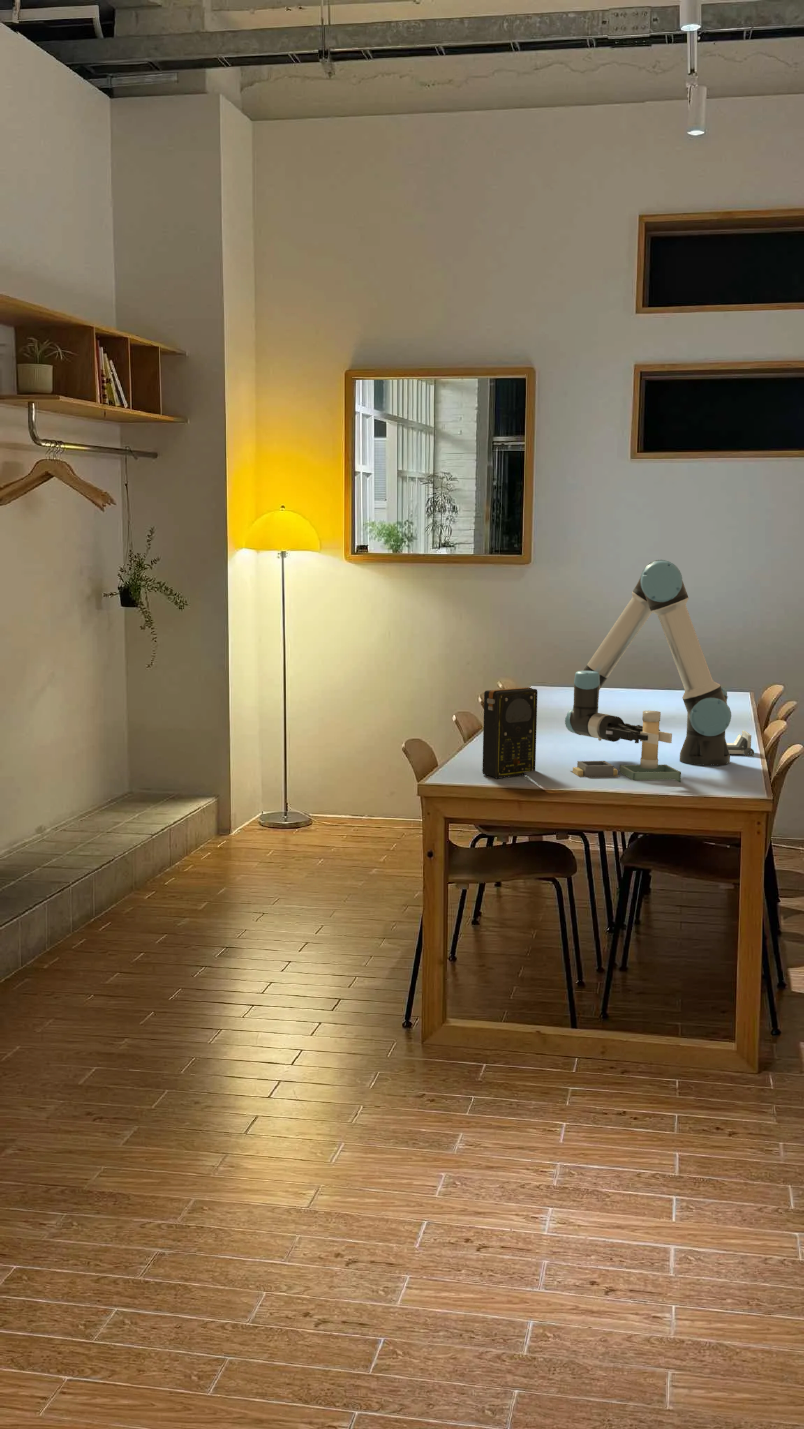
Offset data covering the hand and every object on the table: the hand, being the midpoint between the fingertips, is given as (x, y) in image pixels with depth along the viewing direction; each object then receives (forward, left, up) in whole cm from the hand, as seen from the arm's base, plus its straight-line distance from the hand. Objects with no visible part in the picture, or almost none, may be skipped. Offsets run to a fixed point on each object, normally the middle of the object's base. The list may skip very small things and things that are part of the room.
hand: (664, 738), depth 372 cm
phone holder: (-37, -46, -13) cm, 61 cm away
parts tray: (+2, -5, -12) cm, 13 cm away
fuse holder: (+17, -9, -12) cm, 23 cm away
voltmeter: (+41, -15, -13) cm, 45 cm away
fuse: (+2, -5, -9) cm, 10 cm away
